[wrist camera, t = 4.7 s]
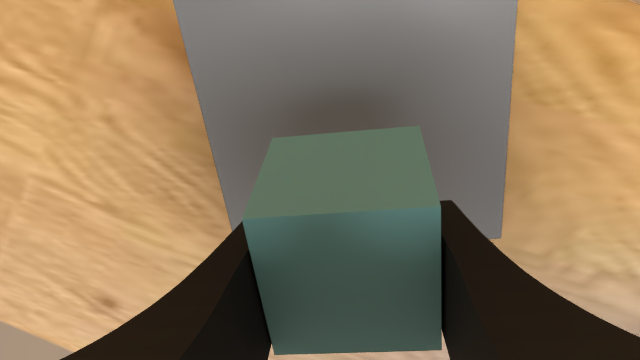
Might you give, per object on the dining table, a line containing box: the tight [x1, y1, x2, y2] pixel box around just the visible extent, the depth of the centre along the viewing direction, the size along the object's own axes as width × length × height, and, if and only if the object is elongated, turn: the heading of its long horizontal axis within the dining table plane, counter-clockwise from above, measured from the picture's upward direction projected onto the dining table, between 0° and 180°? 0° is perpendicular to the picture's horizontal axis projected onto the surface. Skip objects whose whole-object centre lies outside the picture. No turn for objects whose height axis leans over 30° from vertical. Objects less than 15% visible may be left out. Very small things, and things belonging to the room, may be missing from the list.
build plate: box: [173, 0, 518, 239], centre depth 20 cm, size 12×12×1 cm
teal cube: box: [242, 126, 442, 355], centre depth 12 cm, size 4×4×4 cm
